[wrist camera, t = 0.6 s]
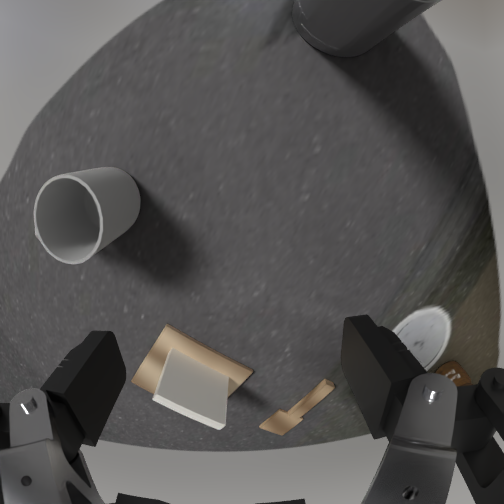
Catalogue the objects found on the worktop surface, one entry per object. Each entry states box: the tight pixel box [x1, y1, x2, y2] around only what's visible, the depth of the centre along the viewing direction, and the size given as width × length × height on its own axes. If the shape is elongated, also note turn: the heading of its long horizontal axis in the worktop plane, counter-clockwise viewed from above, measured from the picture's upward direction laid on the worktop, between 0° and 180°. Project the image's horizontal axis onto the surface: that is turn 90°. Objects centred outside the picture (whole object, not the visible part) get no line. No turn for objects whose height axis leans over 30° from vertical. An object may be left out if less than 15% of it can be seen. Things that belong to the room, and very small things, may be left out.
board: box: [131, 324, 253, 398], centre depth 35 cm, size 12×12×1 cm
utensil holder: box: [435, 361, 473, 386], centre depth 31 cm, size 6×6×12 cm
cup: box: [34, 167, 141, 264], centre depth 24 cm, size 7×10×9 cm
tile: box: [152, 347, 229, 430], centre depth 30 cm, size 1×8×8 cm, turn 55°
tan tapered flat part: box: [259, 379, 335, 435], centre depth 37 cm, size 13×4×1 cm, turn 145°
